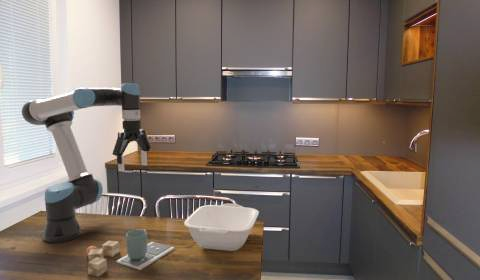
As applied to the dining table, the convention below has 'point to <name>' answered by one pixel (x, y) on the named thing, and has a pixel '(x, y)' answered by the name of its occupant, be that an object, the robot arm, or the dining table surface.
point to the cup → (136, 243)
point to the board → (147, 256)
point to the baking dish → (221, 226)
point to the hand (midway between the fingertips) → (133, 168)
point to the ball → (90, 249)
